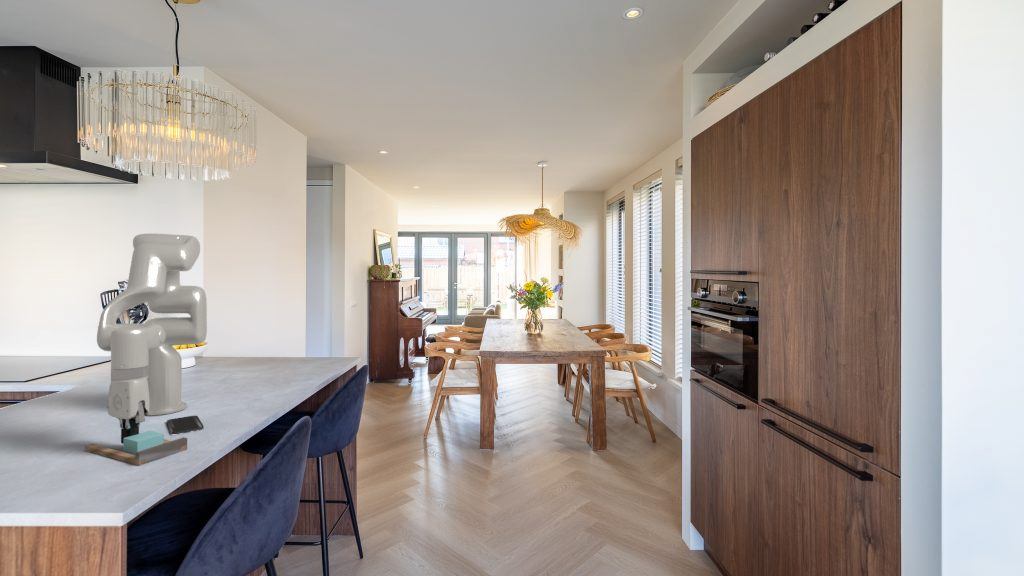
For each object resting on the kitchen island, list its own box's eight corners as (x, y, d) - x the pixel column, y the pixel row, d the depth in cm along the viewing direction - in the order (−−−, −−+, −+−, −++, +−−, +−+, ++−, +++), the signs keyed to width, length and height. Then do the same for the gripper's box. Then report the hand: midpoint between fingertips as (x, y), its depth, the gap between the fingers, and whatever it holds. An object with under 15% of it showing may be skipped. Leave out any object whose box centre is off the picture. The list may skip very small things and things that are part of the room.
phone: (196, 415, 142) (204, 426, 131) (196, 418, 142) (204, 430, 131) (166, 420, 137) (171, 432, 126) (166, 423, 137) (171, 436, 126)
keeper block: (123, 453, 113) (123, 438, 113) (149, 445, 119) (149, 430, 119) (137, 457, 111) (137, 441, 111) (163, 448, 116) (163, 434, 116)
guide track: (84, 450, 114) (84, 439, 114) (133, 436, 124) (133, 426, 124) (139, 465, 106) (139, 453, 106) (187, 449, 116) (187, 438, 116)
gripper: (96, 373, 115) (96, 442, 115) (130, 379, 109) (130, 451, 110) (129, 368, 122) (129, 433, 122) (163, 373, 116) (163, 441, 117)
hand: (130, 441), depth 116 cm, fingers closed
